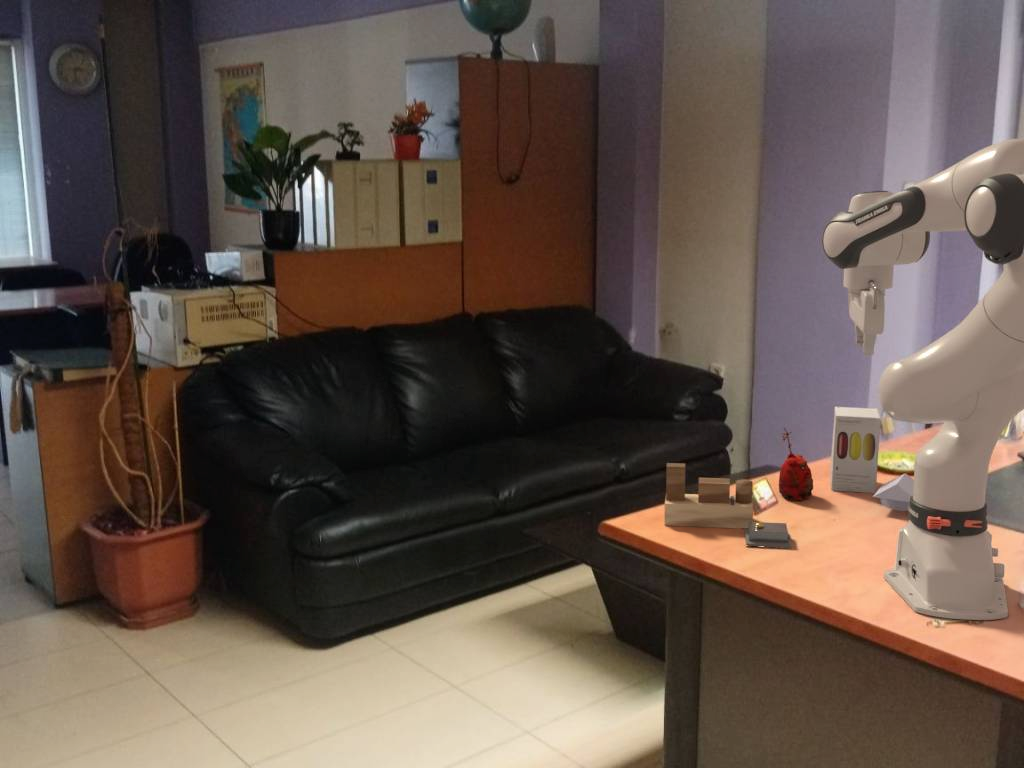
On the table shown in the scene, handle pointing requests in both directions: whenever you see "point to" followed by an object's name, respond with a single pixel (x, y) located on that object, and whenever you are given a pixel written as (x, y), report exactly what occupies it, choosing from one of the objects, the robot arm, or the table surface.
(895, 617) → the table surface
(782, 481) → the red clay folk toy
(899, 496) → the white house model
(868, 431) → the supplement box
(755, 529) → the lever cap
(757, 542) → the bench mat
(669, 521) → the wooden block toy
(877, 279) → the robot arm
